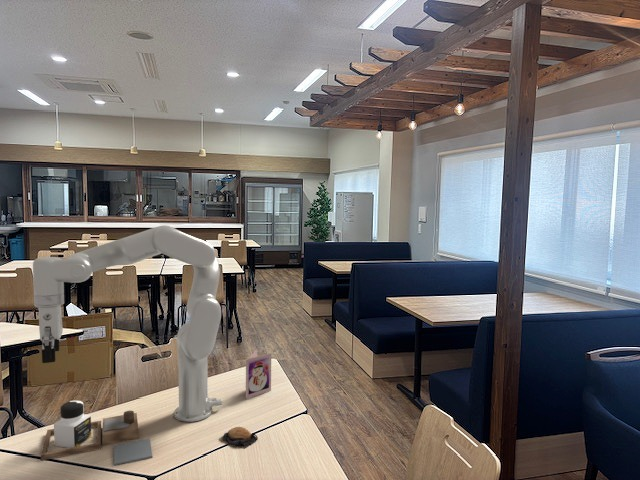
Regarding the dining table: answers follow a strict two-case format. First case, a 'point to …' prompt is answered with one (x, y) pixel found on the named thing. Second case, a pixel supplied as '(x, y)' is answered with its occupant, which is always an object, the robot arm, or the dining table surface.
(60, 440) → the medicine bottle
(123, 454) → the slate mat
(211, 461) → the dining table surface
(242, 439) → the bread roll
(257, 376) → the greeting card
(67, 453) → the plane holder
